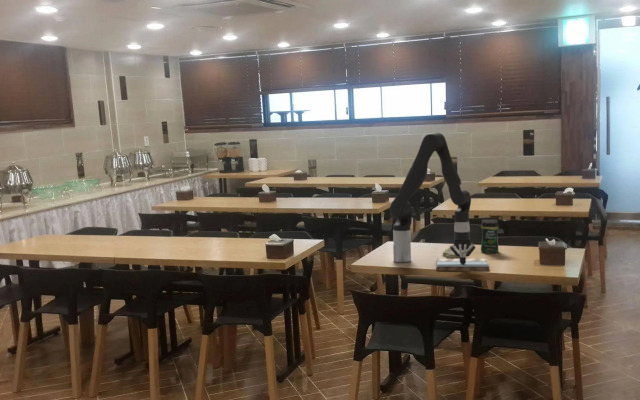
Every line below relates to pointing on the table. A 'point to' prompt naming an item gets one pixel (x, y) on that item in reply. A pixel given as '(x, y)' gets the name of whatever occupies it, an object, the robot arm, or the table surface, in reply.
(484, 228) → the coffee jar
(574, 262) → the table surface
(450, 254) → the stone slab
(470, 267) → the floor board
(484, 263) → the tilted plank
